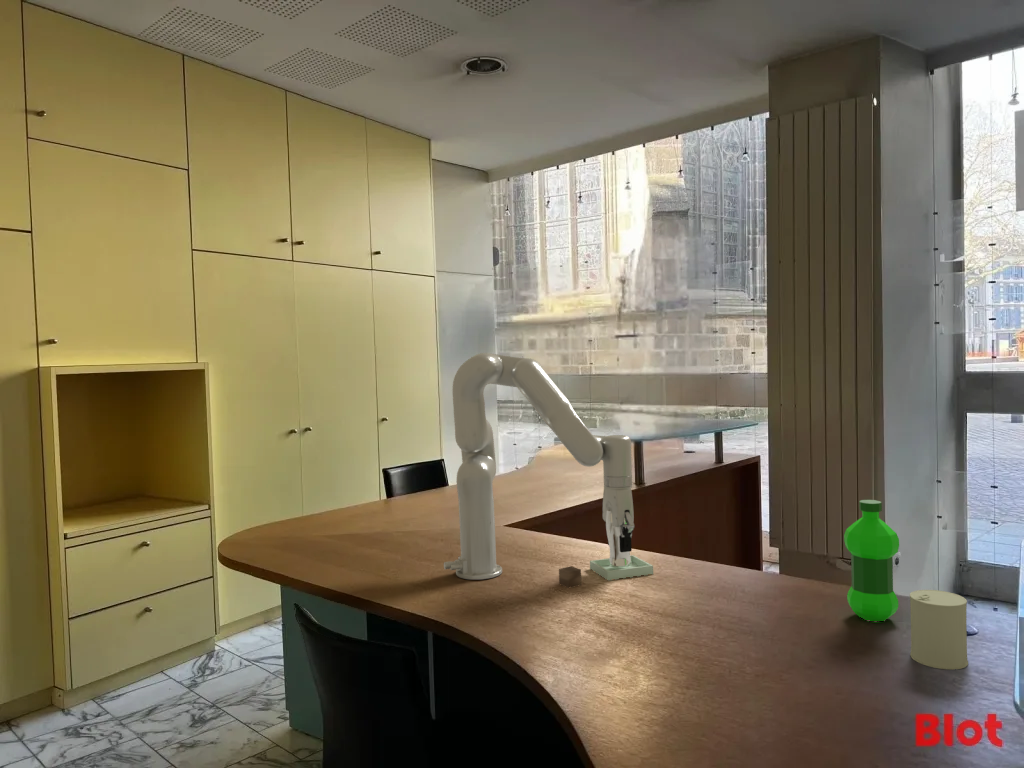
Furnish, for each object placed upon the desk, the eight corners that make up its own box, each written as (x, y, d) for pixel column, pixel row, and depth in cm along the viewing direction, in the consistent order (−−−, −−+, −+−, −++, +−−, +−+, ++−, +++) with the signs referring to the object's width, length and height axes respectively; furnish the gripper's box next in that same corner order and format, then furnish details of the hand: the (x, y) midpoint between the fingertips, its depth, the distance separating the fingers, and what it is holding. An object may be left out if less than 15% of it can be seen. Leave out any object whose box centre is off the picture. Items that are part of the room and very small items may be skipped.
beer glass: (632, 569, 192) (631, 512, 192) (606, 568, 194) (604, 512, 193) (633, 561, 199) (632, 506, 199) (608, 561, 201) (606, 506, 200)
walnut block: (568, 588, 184) (568, 572, 184) (559, 584, 188) (558, 568, 188) (581, 585, 187) (580, 569, 186) (571, 581, 190) (571, 566, 190)
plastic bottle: (898, 629, 149) (896, 508, 149) (842, 621, 155) (839, 504, 154) (902, 614, 158) (900, 499, 157) (849, 607, 164) (846, 495, 163)
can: (899, 651, 139) (898, 588, 139) (945, 647, 140) (944, 585, 140) (931, 671, 130) (930, 604, 130) (980, 667, 131) (979, 601, 130)
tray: (607, 580, 189) (607, 571, 189) (590, 569, 200) (589, 560, 200) (653, 574, 193) (653, 565, 193) (633, 563, 204) (633, 555, 204)
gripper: (591, 478, 203) (593, 542, 203) (619, 488, 186) (621, 558, 187) (616, 475, 205) (618, 539, 206) (645, 485, 188) (647, 554, 189)
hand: (619, 547), depth 196 cm, fingers closed on beer glass, 6 cm apart
